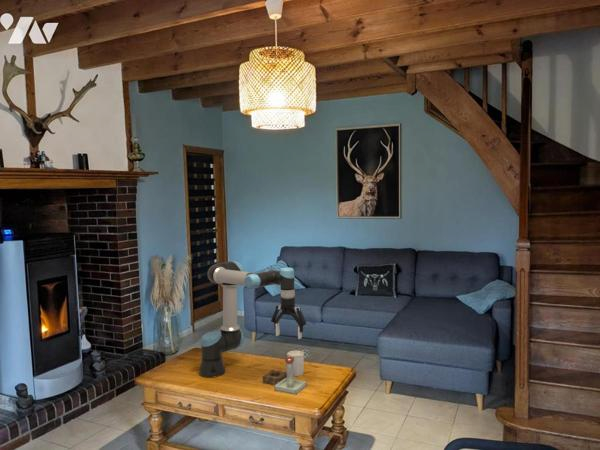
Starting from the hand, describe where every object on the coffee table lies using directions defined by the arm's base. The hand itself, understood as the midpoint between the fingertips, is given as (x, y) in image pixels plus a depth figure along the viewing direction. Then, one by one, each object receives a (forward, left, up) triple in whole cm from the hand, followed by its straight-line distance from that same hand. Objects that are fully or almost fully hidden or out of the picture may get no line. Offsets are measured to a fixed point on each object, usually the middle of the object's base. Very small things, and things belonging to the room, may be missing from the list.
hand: (288, 336), depth 244 cm
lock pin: (0, 0, -27) cm, 27 cm away
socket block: (-12, +5, -28) cm, 31 cm away
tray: (0, 0, -28) cm, 28 cm away
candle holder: (-7, +20, -28) cm, 35 cm away
